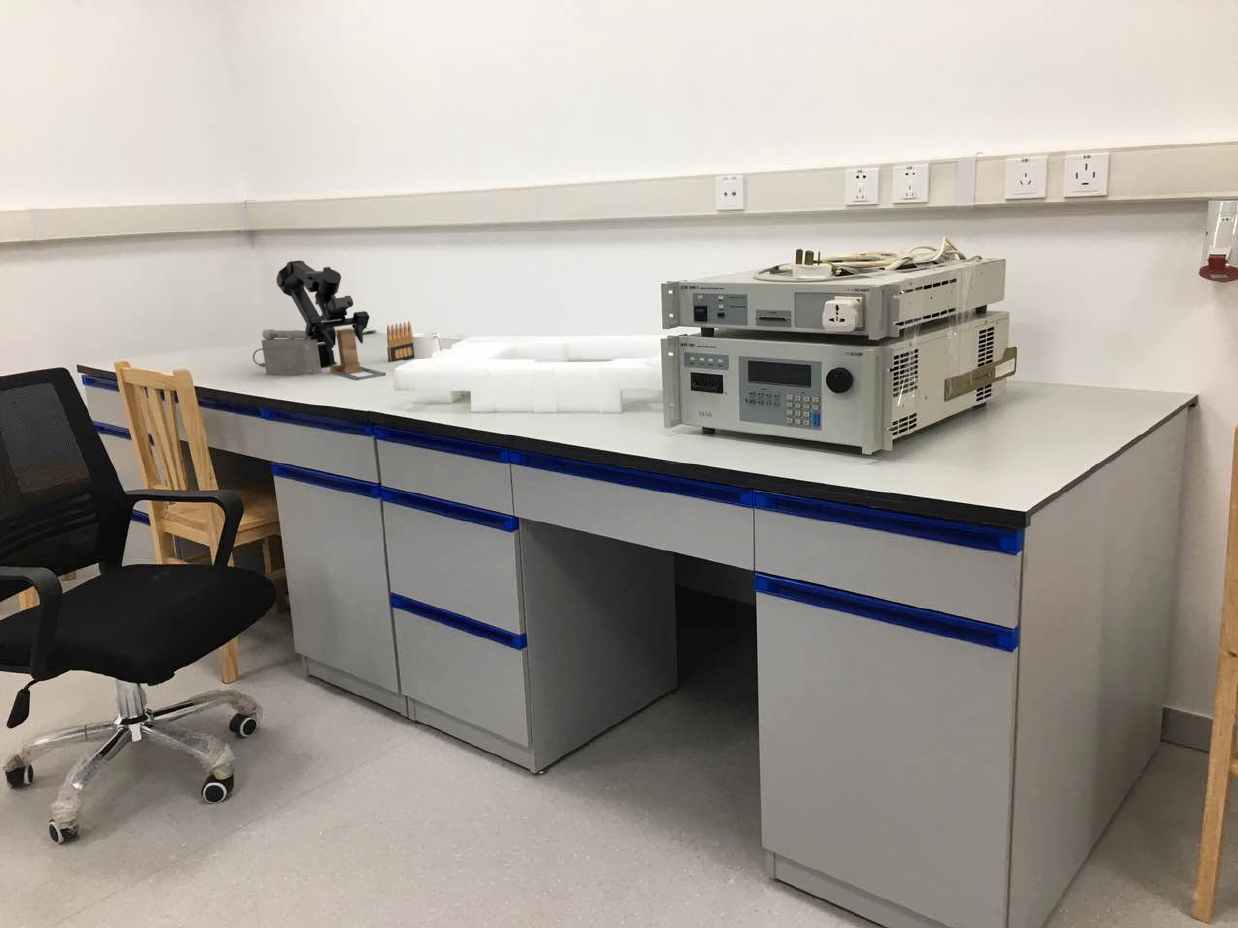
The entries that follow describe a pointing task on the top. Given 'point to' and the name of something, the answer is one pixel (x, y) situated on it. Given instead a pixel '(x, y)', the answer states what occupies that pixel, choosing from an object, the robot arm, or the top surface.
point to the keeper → (348, 351)
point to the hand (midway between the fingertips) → (347, 344)
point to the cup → (426, 344)
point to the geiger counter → (289, 353)
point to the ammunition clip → (400, 343)
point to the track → (376, 374)
